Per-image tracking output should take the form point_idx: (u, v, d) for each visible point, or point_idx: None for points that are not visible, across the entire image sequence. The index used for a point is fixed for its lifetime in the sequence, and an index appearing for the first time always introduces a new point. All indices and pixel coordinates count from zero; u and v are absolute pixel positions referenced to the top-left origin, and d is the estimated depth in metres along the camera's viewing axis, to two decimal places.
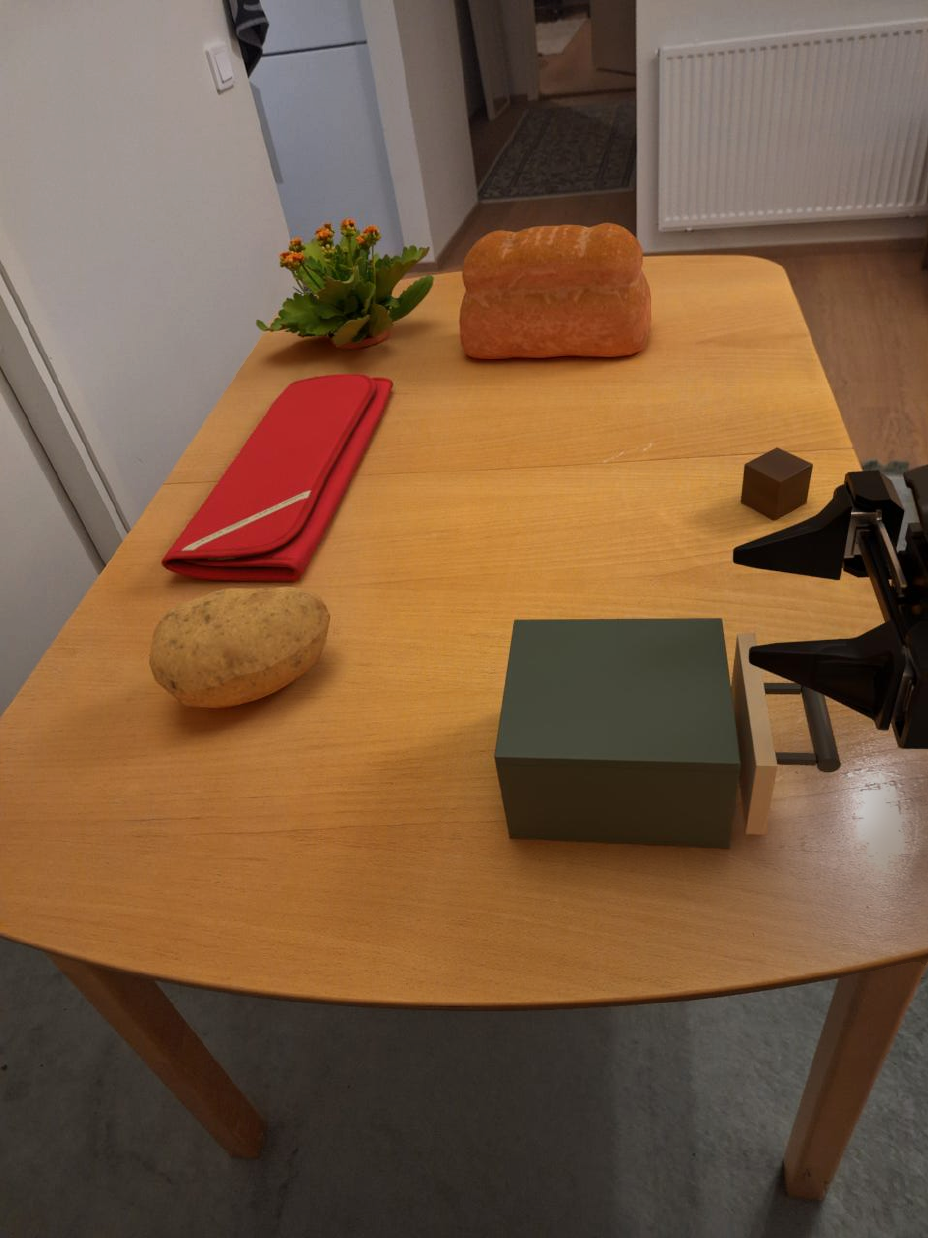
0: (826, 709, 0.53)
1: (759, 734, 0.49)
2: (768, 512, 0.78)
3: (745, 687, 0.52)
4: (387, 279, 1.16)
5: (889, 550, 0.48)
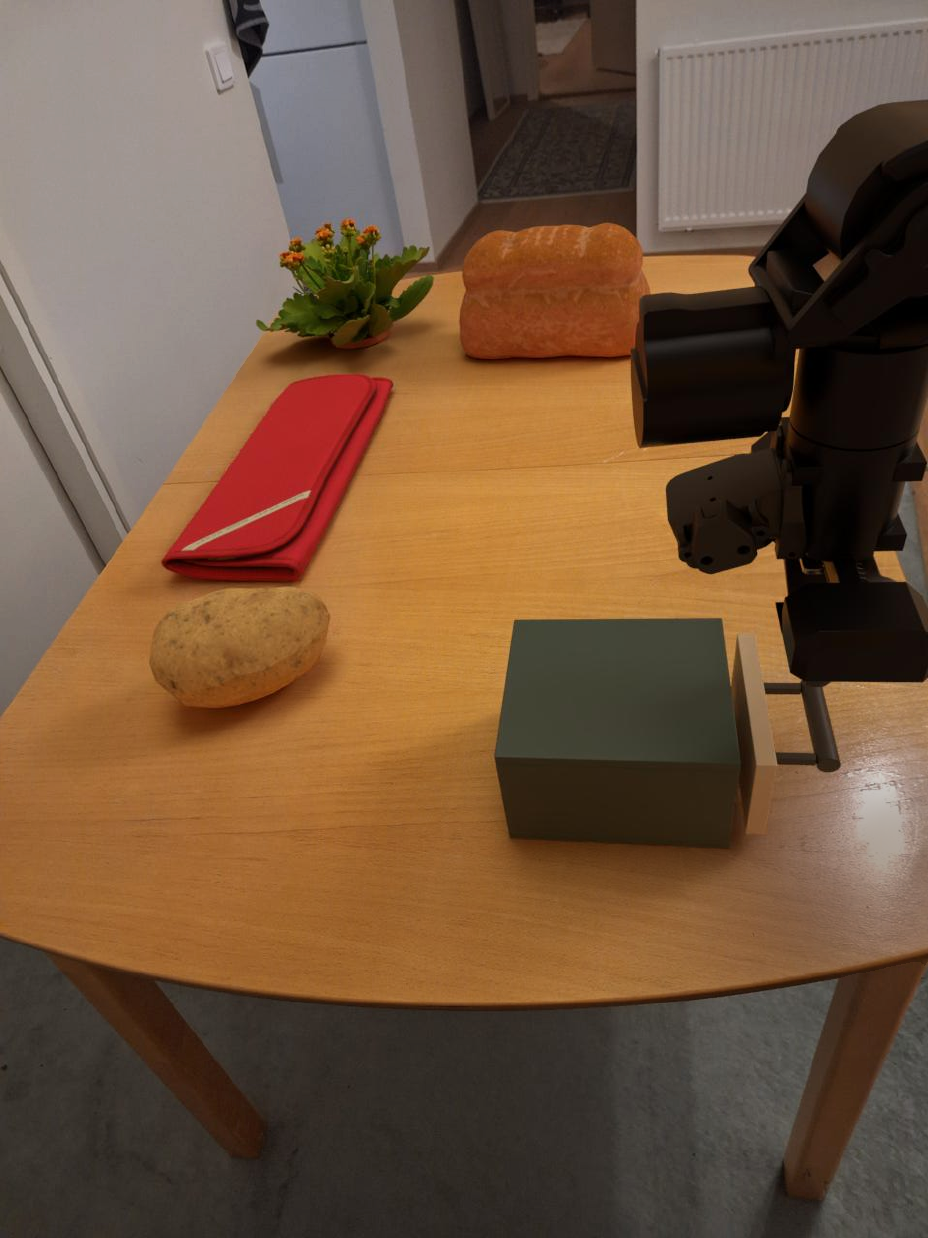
0: (826, 709, 0.53)
1: (759, 734, 0.49)
2: None
3: (745, 687, 0.52)
4: (387, 279, 1.16)
5: None
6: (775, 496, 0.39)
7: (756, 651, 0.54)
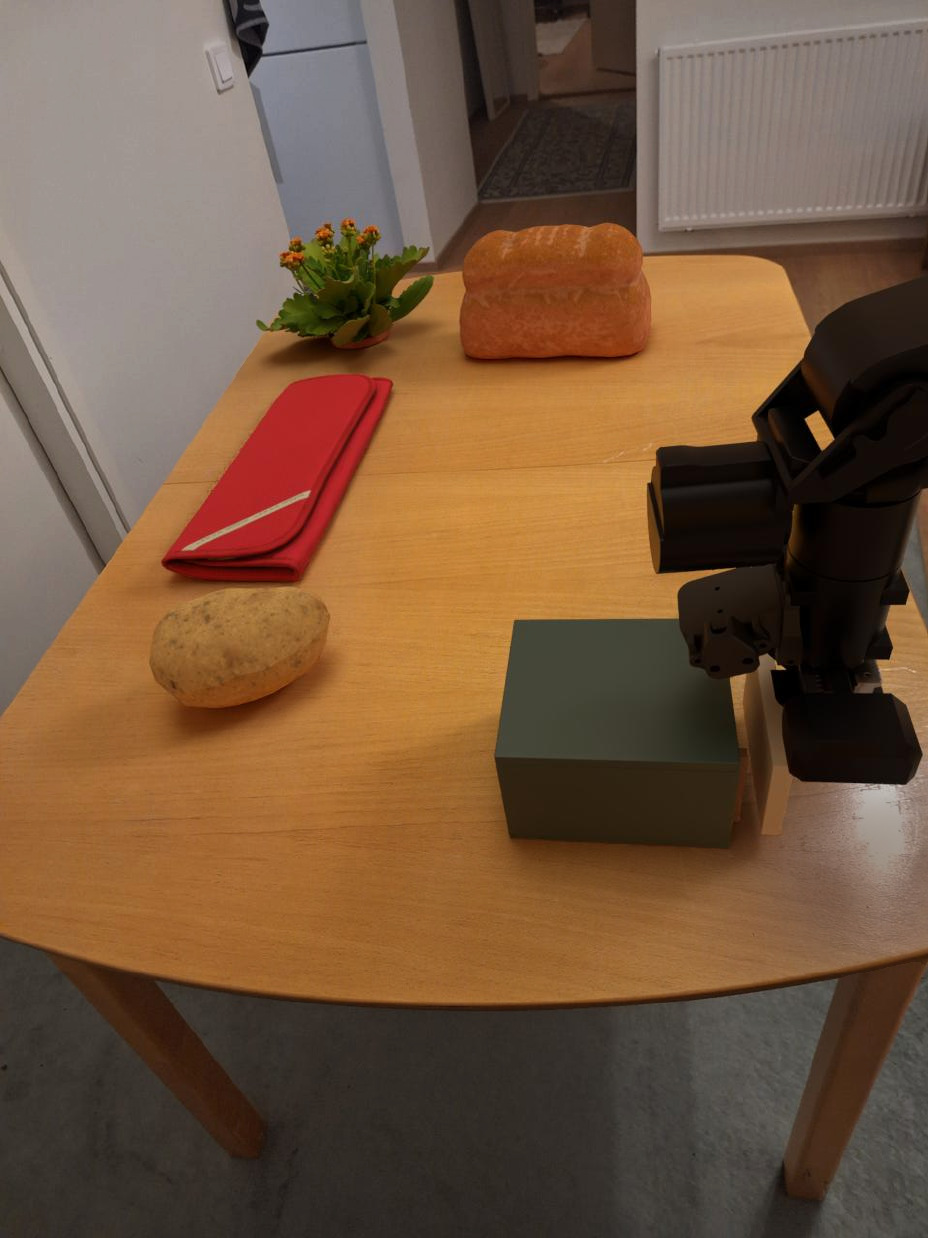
0: None
1: (775, 735, 0.49)
2: None
3: (760, 687, 0.52)
4: (387, 279, 1.16)
5: (799, 669, 0.47)
6: (775, 613, 0.44)
7: None
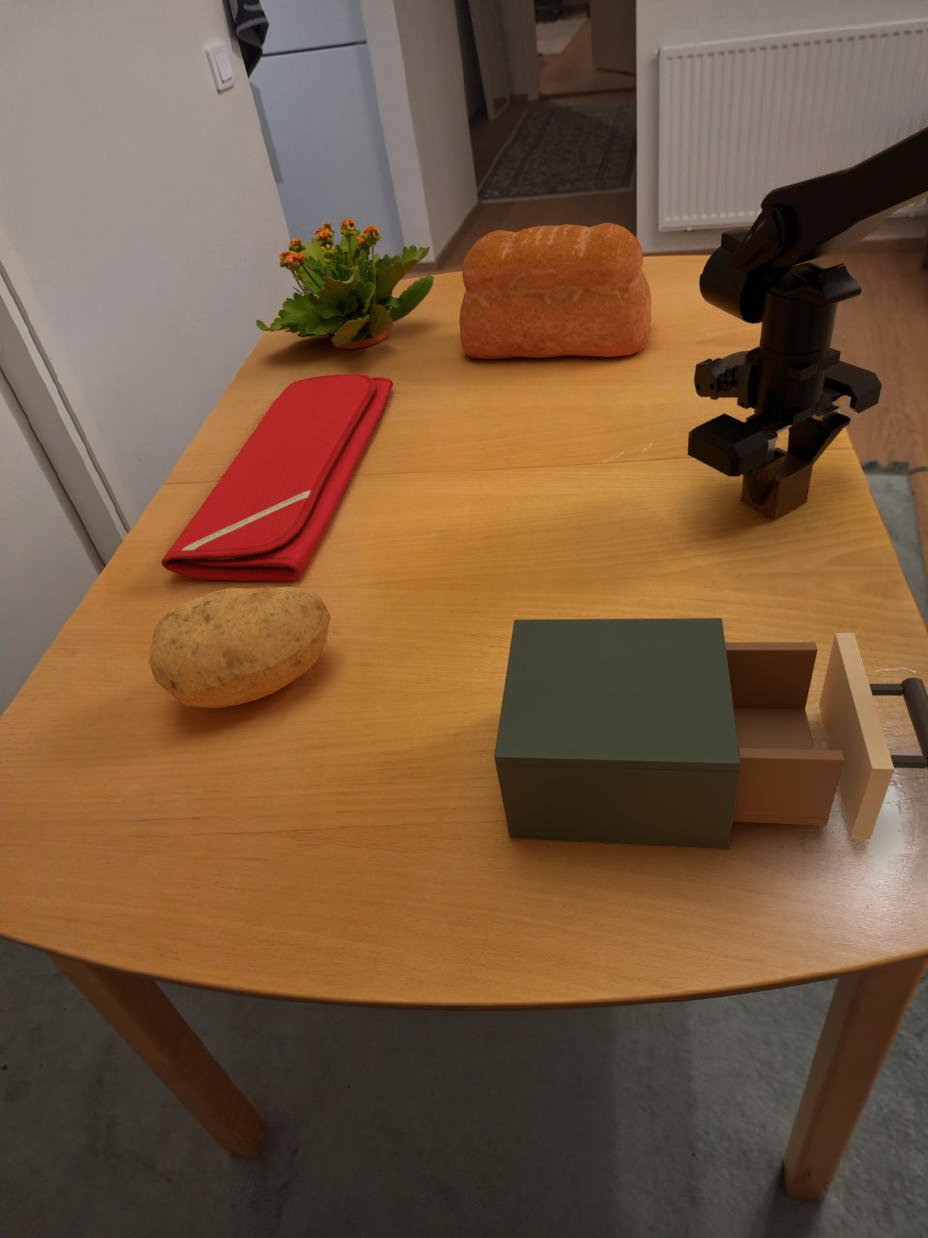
0: None
1: (871, 736, 0.48)
2: (768, 512, 0.78)
3: (850, 688, 0.51)
4: (387, 279, 1.16)
5: None
6: (743, 367, 0.72)
7: (857, 651, 0.53)
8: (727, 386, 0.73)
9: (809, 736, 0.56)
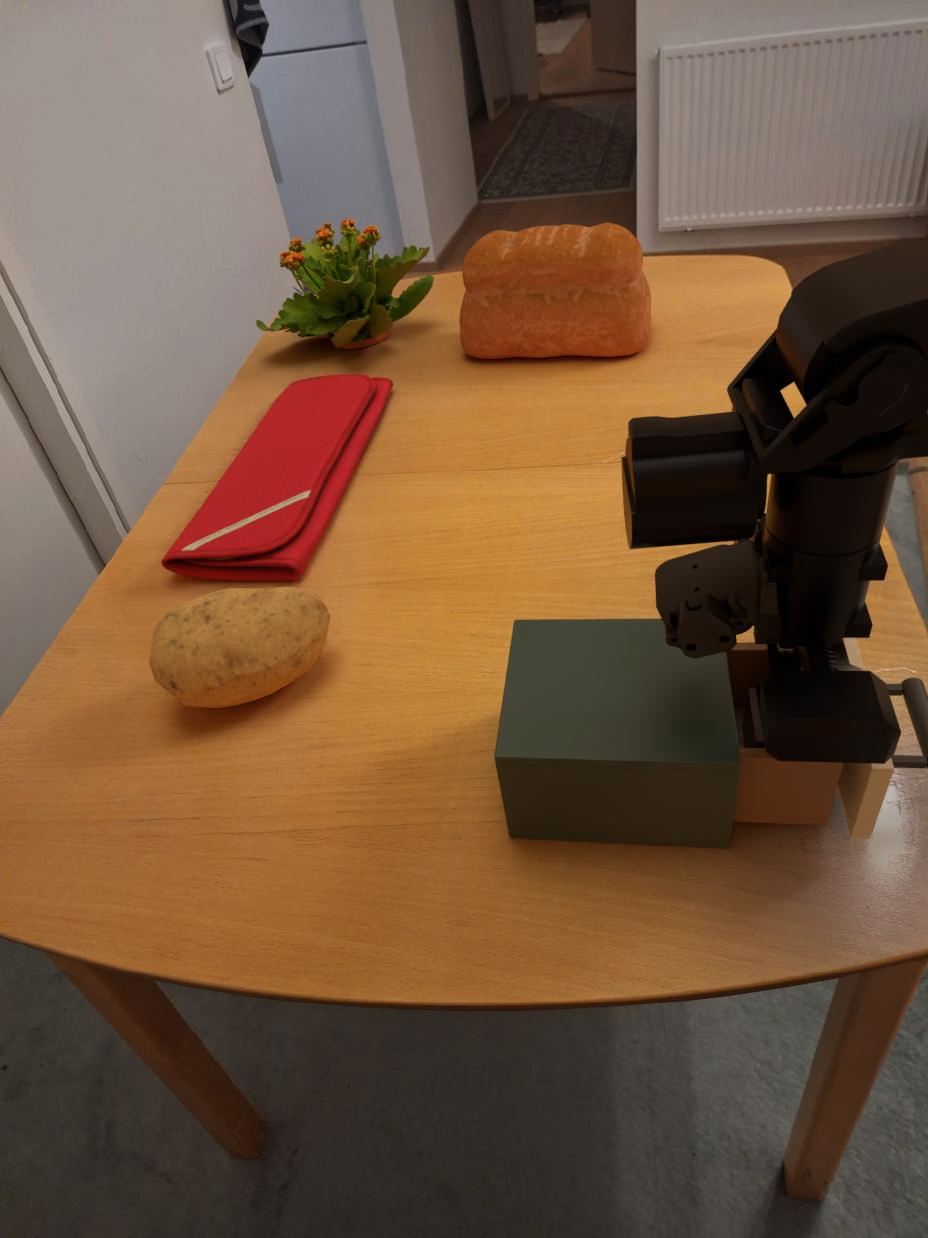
0: None
1: None
2: None
3: None
4: (387, 279, 1.16)
5: None
6: (753, 590, 0.44)
7: (857, 651, 0.53)
8: (742, 627, 0.44)
9: None
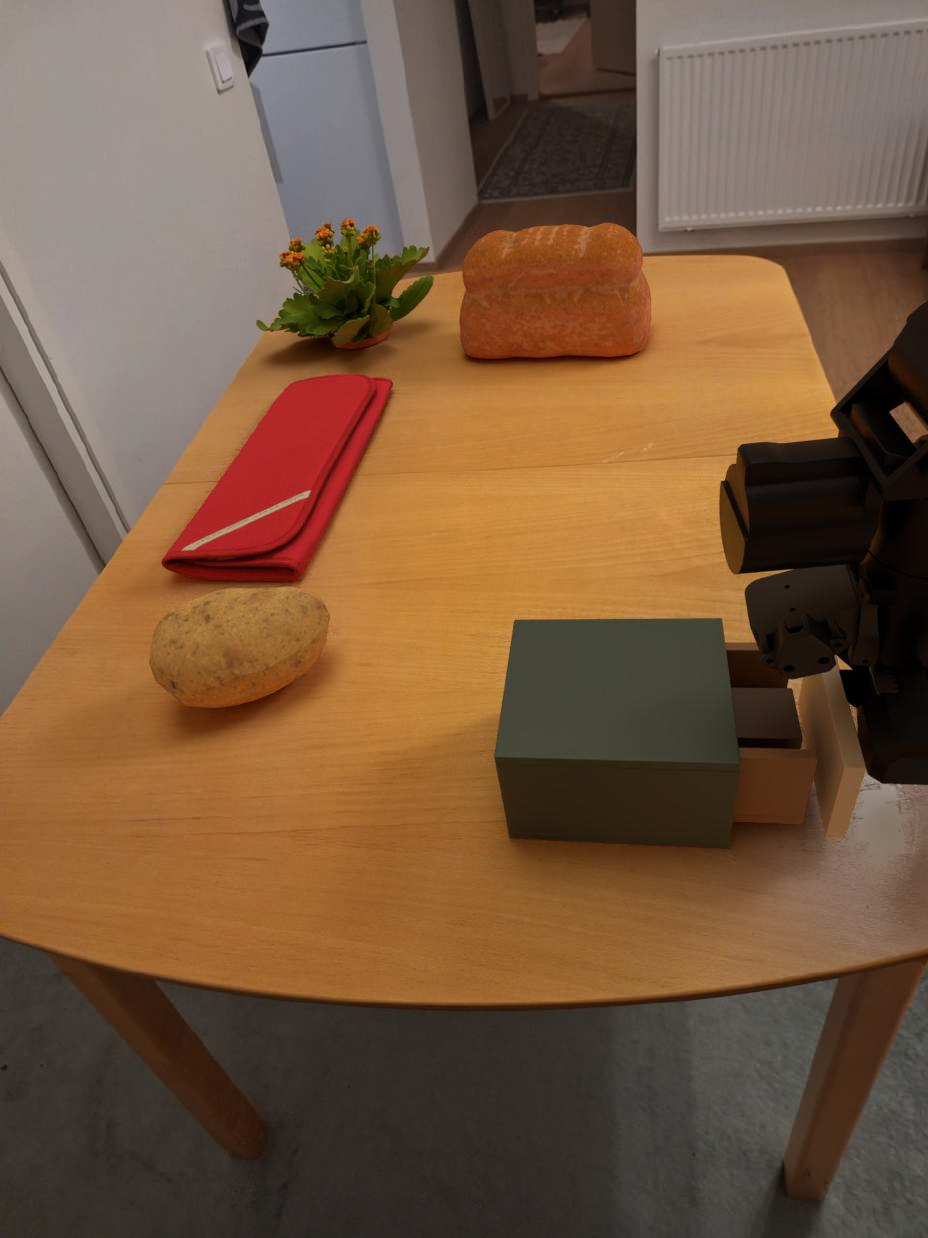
0: None
1: (844, 736, 0.48)
2: None
3: (825, 688, 0.51)
4: (387, 279, 1.16)
5: (872, 669, 0.46)
6: (852, 611, 0.44)
7: None
8: (841, 649, 0.44)
9: None
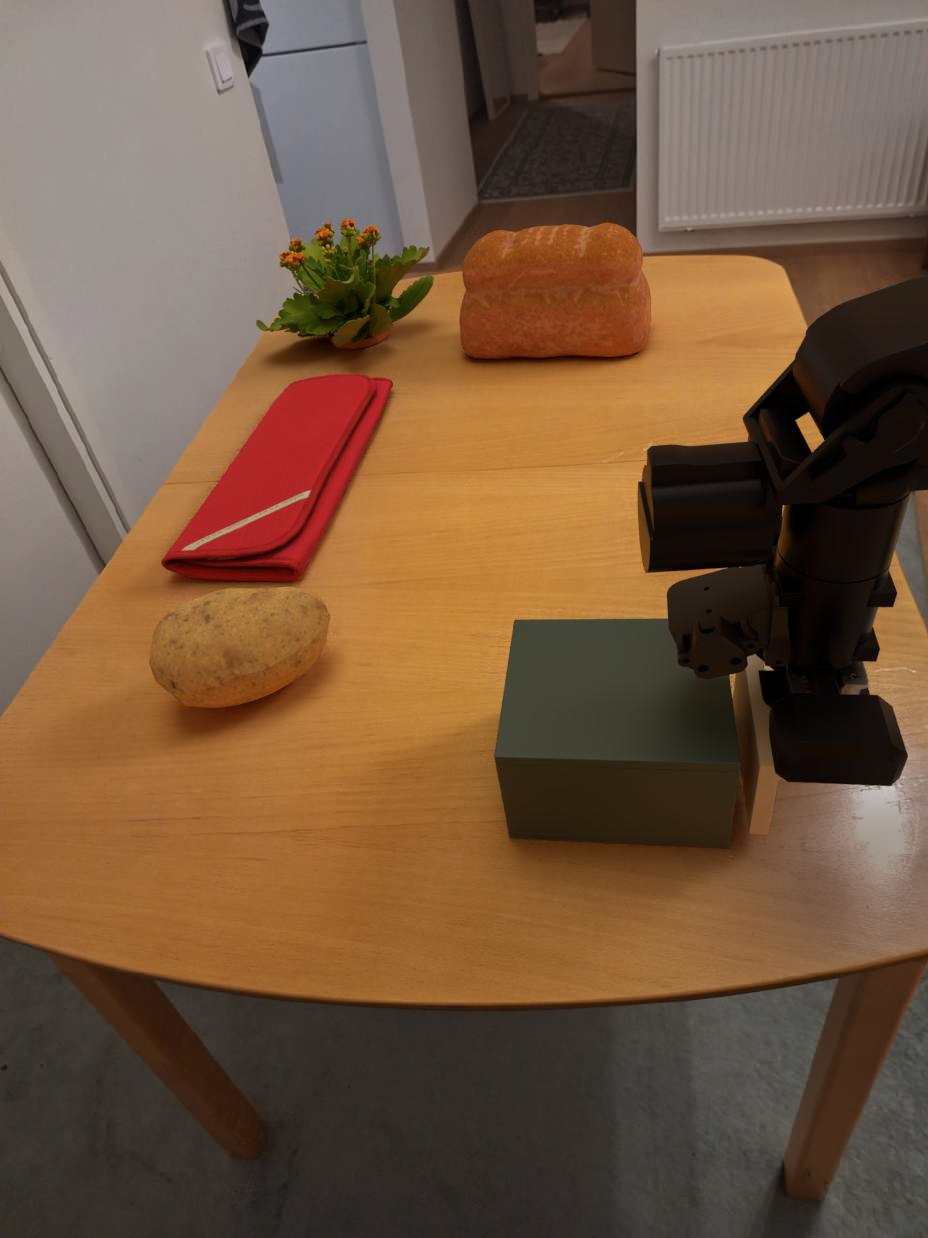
0: None
1: (763, 734, 0.49)
2: None
3: (748, 687, 0.52)
4: (387, 279, 1.16)
5: (786, 670, 0.47)
6: (764, 613, 0.45)
7: None
8: (753, 650, 0.45)
9: None
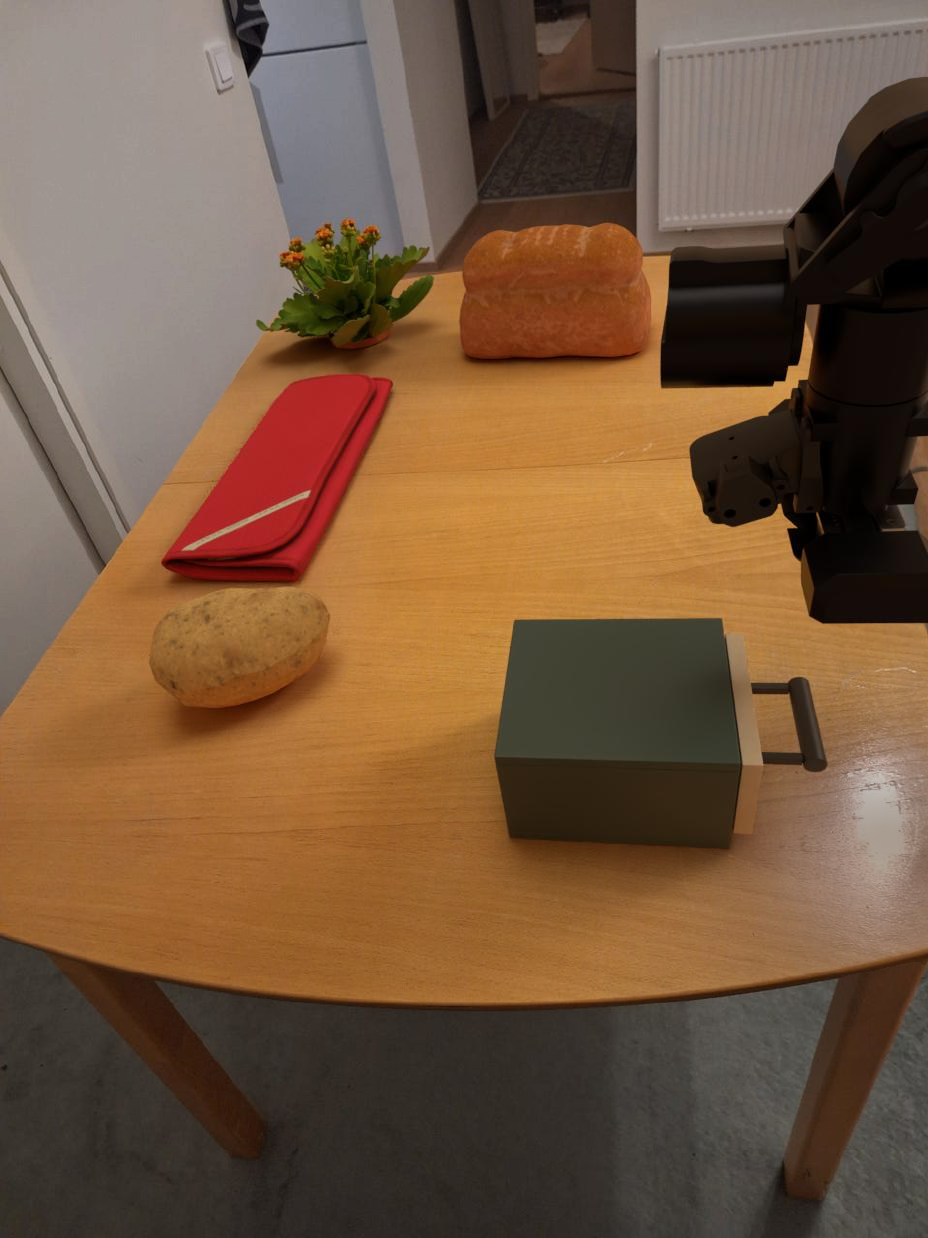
0: (813, 709, 0.53)
1: (745, 734, 0.50)
2: None
3: (732, 687, 0.53)
4: (387, 279, 1.16)
5: (818, 520, 0.44)
6: (794, 452, 0.42)
7: (744, 651, 0.55)
8: (783, 492, 0.42)
9: None
